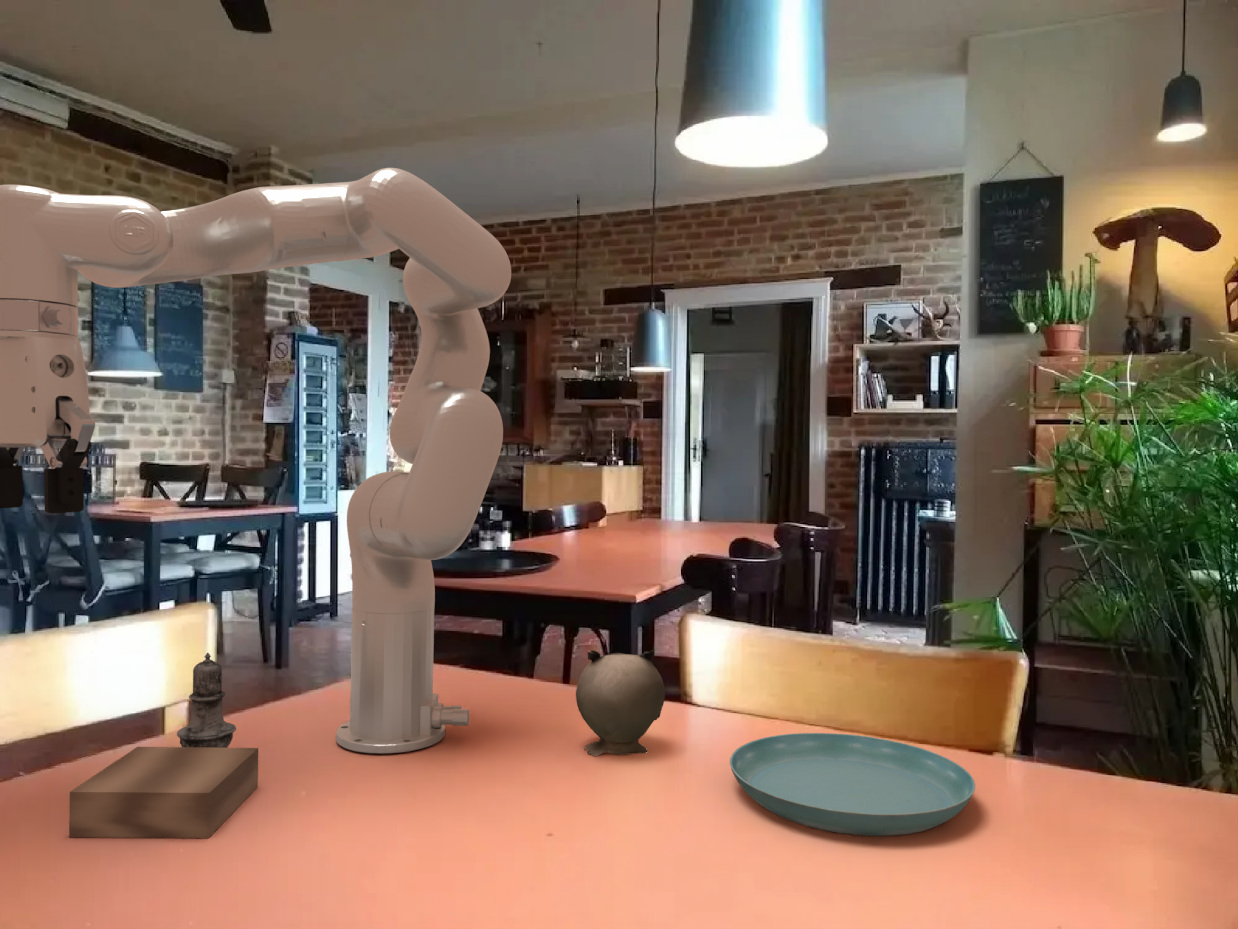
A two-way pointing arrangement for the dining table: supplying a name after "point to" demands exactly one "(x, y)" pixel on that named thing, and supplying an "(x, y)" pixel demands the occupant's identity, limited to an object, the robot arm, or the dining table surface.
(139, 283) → the robot arm
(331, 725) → the dining table surface
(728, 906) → the dining table surface
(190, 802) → the brown flat wooden block
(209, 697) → the salt shaker
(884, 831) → the teal plate
